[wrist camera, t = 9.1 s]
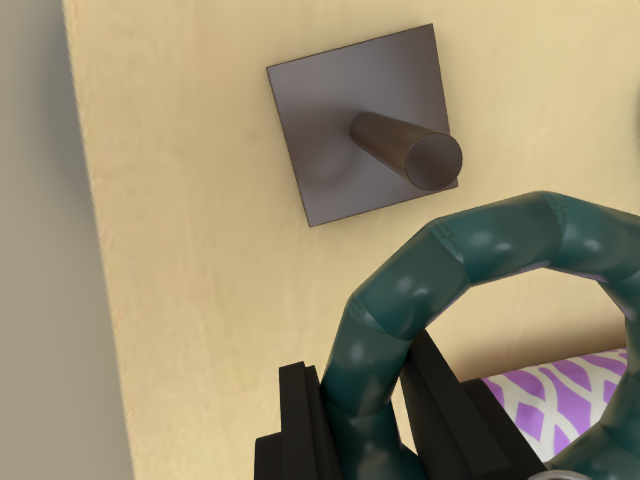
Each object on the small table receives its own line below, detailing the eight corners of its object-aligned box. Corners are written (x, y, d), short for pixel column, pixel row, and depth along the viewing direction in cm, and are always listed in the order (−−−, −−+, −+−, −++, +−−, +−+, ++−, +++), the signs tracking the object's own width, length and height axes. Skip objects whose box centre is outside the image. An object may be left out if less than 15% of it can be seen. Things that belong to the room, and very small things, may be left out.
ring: (365, 545, 12) (378, 602, 11) (277, 251, 9) (279, 279, 8) (671, 455, 12) (722, 500, 11) (668, 143, 10) (732, 152, 8)
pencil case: (733, 295, 34) (898, 371, 25) (720, 402, 37) (863, 503, 29) (432, 360, 33) (493, 462, 24) (444, 464, 36) (502, 589, 27)
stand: (307, 220, 29) (336, 315, 18) (265, 68, 26) (266, 57, 15) (449, 181, 30) (572, 249, 18) (424, 26, 27) (551, -19, 15)
